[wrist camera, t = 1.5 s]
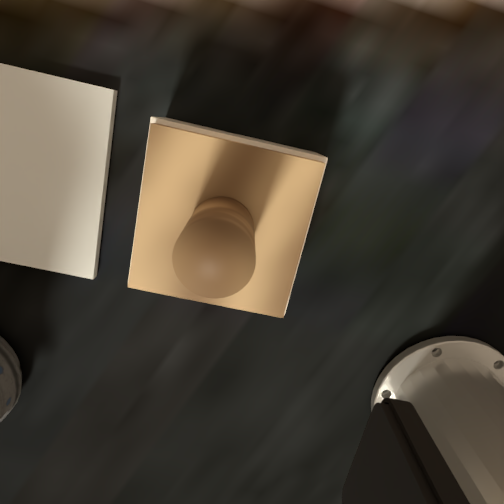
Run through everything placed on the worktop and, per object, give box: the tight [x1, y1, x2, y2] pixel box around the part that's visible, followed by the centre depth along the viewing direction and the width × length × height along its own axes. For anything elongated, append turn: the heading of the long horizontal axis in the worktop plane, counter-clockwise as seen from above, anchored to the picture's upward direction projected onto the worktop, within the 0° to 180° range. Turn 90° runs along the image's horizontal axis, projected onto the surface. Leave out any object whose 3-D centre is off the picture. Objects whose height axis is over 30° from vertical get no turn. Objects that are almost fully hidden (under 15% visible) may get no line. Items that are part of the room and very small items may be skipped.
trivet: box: [0, 63, 117, 279], centre depth 29 cm, size 14×14×1 cm
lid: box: [128, 123, 325, 318], centre depth 23 cm, size 10×10×7 cm
